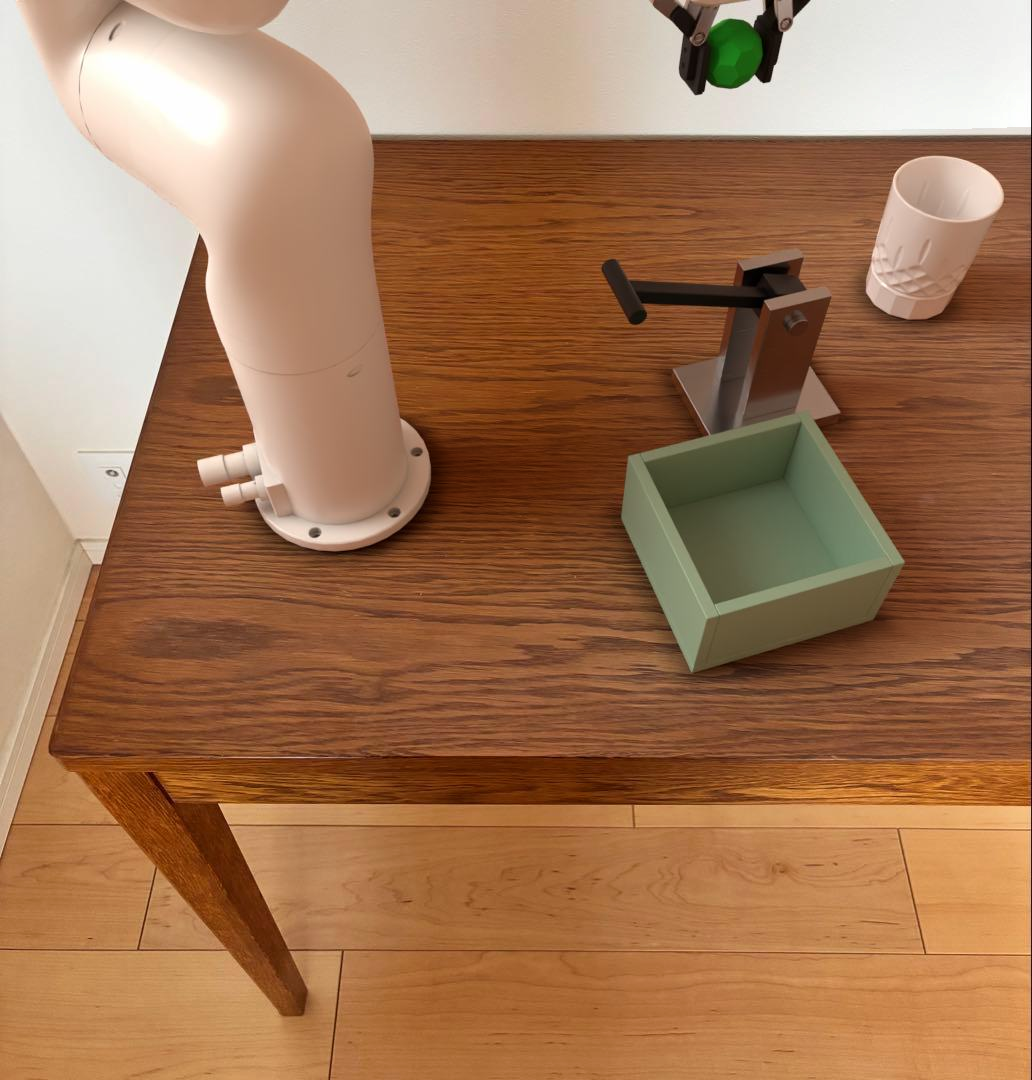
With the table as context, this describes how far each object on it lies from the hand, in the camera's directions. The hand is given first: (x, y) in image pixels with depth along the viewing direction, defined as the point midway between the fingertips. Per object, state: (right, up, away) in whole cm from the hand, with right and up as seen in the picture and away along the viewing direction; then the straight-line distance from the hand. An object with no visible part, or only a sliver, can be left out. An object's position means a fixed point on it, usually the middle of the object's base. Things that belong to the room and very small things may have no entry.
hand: (725, 78), depth 79 cm
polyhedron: (0, 0, +1) cm, 1 cm away
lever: (-5, -22, -14) cm, 27 cm away
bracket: (+1, -27, -5) cm, 27 cm away
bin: (-2, -39, -13) cm, 41 cm away
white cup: (+15, -17, +2) cm, 23 cm away
